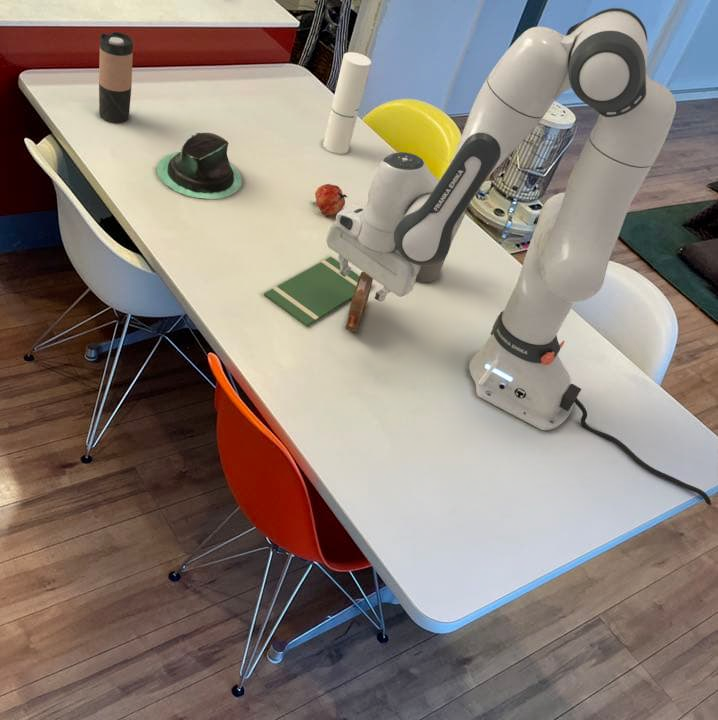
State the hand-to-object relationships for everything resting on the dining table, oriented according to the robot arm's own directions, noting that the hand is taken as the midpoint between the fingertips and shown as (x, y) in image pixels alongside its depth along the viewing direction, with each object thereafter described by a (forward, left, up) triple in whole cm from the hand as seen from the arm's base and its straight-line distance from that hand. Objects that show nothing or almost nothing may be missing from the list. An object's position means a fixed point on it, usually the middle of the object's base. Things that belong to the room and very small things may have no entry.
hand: (361, 286), depth 158 cm
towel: (+9, 0, -8) cm, 12 cm away
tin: (-1, 0, -8) cm, 8 cm away
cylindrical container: (+47, -52, -8) cm, 71 cm away
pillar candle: (0, -26, -8) cm, 27 cm away
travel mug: (+86, -9, -8) cm, 87 cm away
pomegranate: (+28, -25, -8) cm, 39 cm away
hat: (+55, -9, -8) cm, 57 cm away
